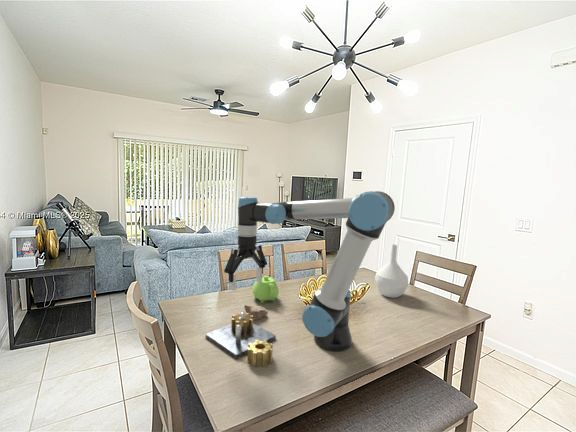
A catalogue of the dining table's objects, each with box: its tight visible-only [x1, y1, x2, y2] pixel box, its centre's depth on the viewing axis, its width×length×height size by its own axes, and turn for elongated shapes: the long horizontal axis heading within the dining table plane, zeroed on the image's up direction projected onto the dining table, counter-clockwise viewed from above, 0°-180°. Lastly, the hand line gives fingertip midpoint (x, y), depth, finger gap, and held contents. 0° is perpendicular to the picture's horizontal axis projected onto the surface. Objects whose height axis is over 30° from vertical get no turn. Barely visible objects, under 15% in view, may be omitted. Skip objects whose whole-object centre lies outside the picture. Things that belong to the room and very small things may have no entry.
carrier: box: [205, 311, 277, 360], centre depth 123 cm, size 20×20×8 cm
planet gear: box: [246, 340, 274, 368], centre depth 109 cm, size 9×9×5 cm
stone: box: [243, 304, 269, 321], centre depth 144 cm, size 9×11×5 cm
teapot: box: [252, 275, 279, 304], centre depth 163 cm, size 20×13×13 cm
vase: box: [374, 244, 409, 299], centre depth 176 cm, size 18×18×30 cm
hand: (246, 285), depth 125 cm, fingers open, 13 cm apart
